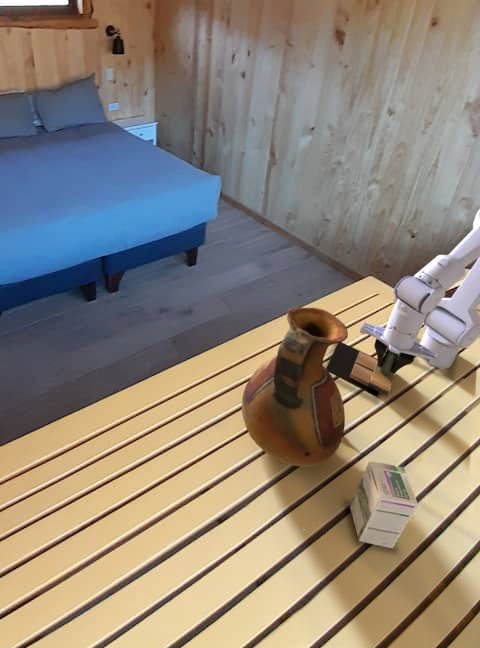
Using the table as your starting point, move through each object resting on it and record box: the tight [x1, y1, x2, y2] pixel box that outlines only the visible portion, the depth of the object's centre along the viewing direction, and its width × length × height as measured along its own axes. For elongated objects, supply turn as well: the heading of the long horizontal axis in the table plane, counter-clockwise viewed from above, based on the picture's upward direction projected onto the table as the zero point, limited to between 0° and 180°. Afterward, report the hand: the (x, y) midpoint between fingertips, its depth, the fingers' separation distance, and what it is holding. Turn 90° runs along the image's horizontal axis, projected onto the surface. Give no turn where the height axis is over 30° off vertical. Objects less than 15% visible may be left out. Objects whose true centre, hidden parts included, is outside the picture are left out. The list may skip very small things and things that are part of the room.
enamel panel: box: [325, 342, 380, 398], centre depth 100 cm, size 12×12×2 cm
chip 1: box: [355, 351, 377, 372], centre depth 100 cm, size 4×4×1 cm
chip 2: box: [350, 364, 373, 386], centre depth 97 cm, size 4×4×1 cm
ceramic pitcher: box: [241, 306, 349, 467], centre depth 81 cm, size 20×20×30 cm
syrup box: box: [349, 461, 419, 549], centre depth 69 cm, size 6×6×14 cm
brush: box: [368, 347, 399, 397], centre depth 95 cm, size 9×4×10 cm, turn 140°
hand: (386, 367), depth 95 cm, fingers closed on brush, 2 cm apart
